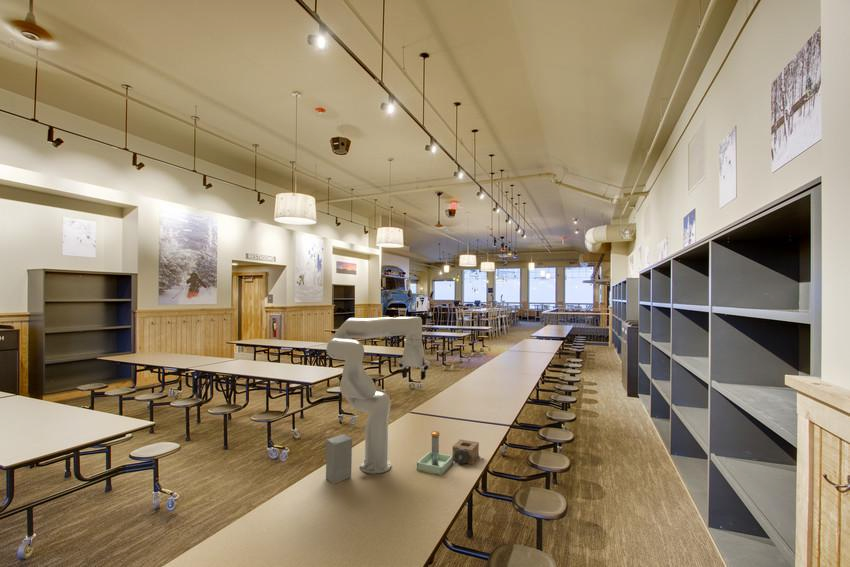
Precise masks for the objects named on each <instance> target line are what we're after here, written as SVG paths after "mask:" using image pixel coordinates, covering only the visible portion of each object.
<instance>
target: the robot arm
mask: <svg viewBox="0 0 850 567" xmlns="http://www.w3.org/2000/svg"><path fill="white" fill-rule="evenodd" d="M396 336H406V338H405V339H404V340H403V342H404V343H405V344H404V346H403V352H402V357H400V358H399V359H397V363H398V365H399V367H400V369H401V375H402V378H403V379H405V378H407V377H408V369H407V368H408V367H409V368H410V367H412V368H419V369H420V370H421V371H420V380H421V381H423V380H426V373H427V370H428V369H429V367H430V366H431V363H432V362H431V361H430V360H428V359H427V358H425V356H426V355H425V349H424V345H423V319H422V317H420V316H398V317H391V316H381V317H366V318H365V317H363V318H362V317H349V318H348V319H346V320H345V321H344V322H343V323H342V324H341V326H340V327H338V329H337V330H336V331H335V333H334V334H333V335H332V337H331V338H330V339H329V340H328V341H327V344H326V354H327V356H329V358H331V359H335V360H339V361H344V364H343V368H342V373H341V374H342V378H341V380H340V383H339V389H340V393H341V395H342V396H343V397H344V398H345V400H346V401H347V402H348V403H349V404H350V406H352V407H353V408H354V409H355V410H356V411H359V412H363V413H366V414H369V416H368V418H367V420H366V422H365V425H364V427H365V428H364V430H365V436H364V442H365V443H364V460H363V462H362V463H361V464H360V466H359V471H361V472H364V473H367V474H373V475H375V474H383V473H386V472H389V471H390V470H391V468H392V463H391V461H389V458H388V454H389V453H388V452H389V451H388V450H389V449H388V446H389V445H388V444H389V443H388V442H389V416H390V410H391V405H392V401H391V398H390V396H389V395H388V394H387V393H385V392H383V391H380V390H379V391H378V390H377V386H376V384H375V382H374V381H373V379H372V378H371V377H370V376H369V374H368V373H367V372H366V371H365V369H364V367H363V360H364V356H365V346H364V345H363V343H362V342H361V341H360V340H358V339H362V340H367V339H375V338H376V339H377V338H382V337H383V338H386V337H396ZM425 363H426V365H425Z"/></svg>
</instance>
